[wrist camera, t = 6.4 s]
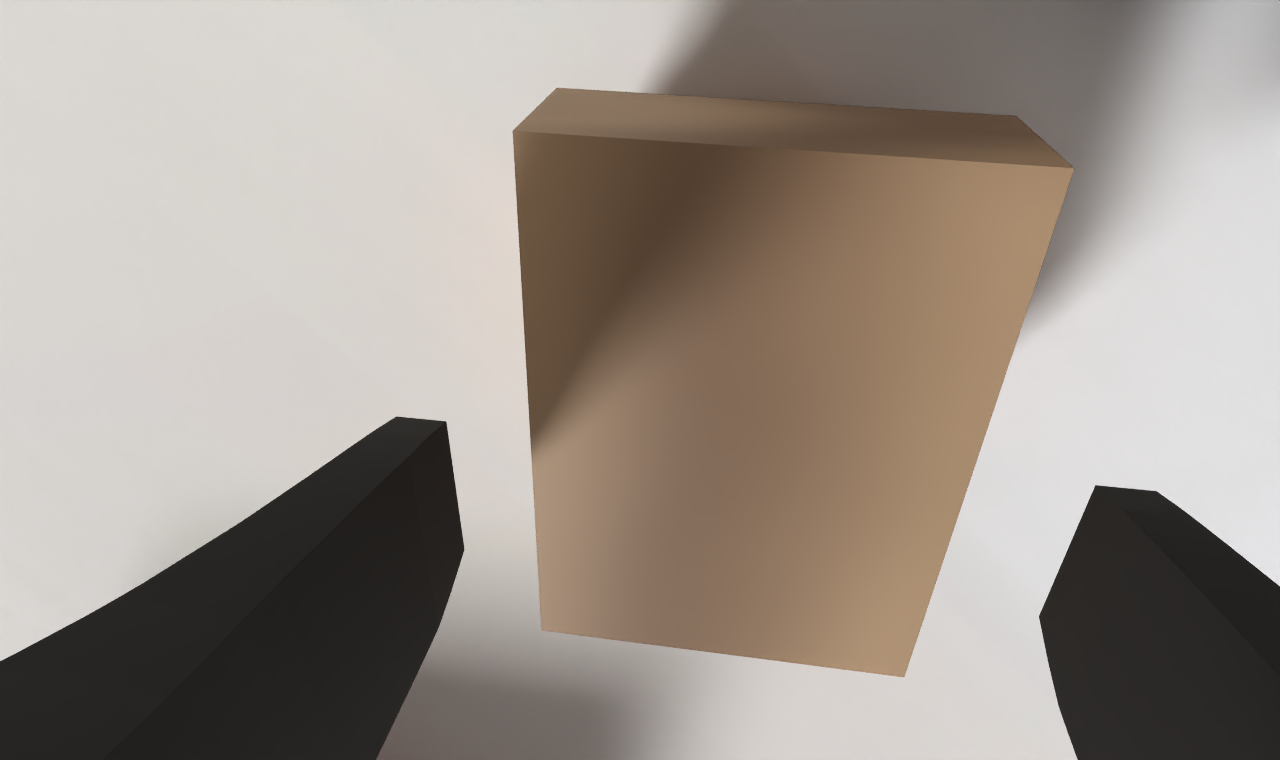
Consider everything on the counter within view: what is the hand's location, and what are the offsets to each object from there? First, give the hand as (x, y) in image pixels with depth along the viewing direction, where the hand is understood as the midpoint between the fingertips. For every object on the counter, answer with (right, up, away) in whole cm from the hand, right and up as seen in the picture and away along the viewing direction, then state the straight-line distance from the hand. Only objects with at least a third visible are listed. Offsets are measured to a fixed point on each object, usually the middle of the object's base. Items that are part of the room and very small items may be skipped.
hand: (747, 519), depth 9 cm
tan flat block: (0, +2, +2) cm, 3 cm away
